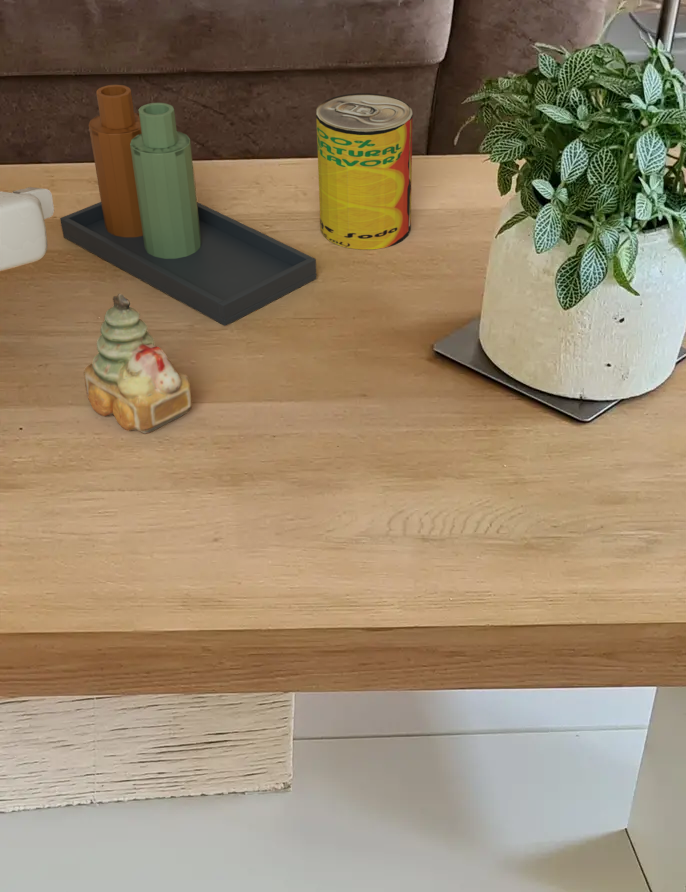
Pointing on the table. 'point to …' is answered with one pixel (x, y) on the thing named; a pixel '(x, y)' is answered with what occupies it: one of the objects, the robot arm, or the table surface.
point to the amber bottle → (116, 159)
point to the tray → (203, 263)
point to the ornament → (134, 374)
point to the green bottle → (165, 184)
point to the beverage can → (364, 170)
